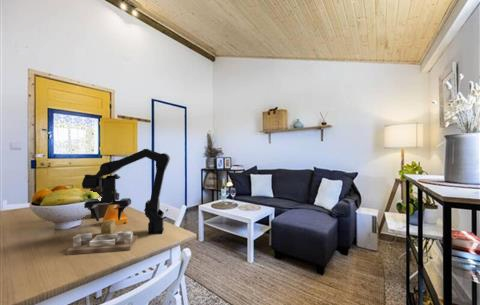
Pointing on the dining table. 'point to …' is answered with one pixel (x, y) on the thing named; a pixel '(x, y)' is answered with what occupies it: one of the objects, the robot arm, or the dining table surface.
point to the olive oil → (102, 207)
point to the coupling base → (102, 242)
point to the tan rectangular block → (108, 227)
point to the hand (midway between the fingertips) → (108, 220)
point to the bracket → (114, 215)
